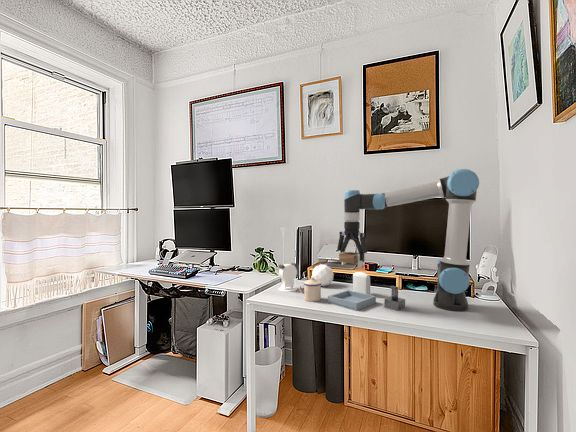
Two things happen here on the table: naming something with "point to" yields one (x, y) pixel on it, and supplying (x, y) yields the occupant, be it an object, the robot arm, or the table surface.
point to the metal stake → (394, 300)
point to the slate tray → (352, 300)
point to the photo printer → (361, 283)
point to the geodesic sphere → (323, 274)
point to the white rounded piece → (287, 277)
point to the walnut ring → (349, 257)
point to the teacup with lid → (311, 290)
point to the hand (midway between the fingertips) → (351, 265)
